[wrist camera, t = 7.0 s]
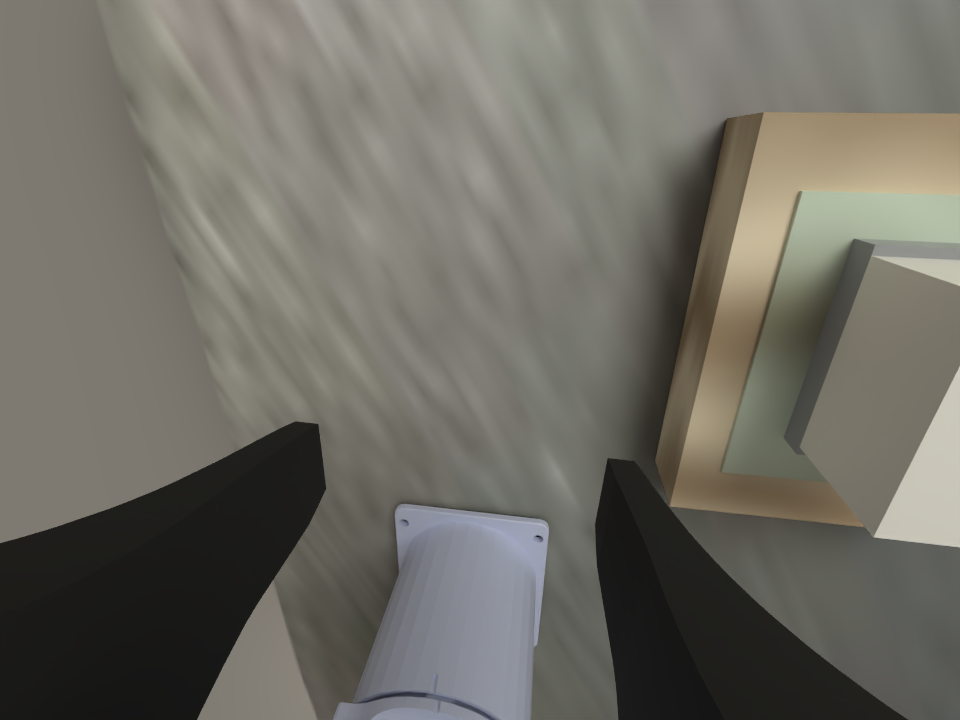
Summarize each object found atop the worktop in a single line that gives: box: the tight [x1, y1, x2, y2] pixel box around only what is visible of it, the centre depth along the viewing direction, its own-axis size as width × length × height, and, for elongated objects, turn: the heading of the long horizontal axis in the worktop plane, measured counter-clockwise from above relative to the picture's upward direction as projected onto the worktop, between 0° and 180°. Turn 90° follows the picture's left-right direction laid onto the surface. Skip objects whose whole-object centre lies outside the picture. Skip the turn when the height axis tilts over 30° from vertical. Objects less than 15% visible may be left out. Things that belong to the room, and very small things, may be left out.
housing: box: [784, 238, 960, 547], centre depth 13 cm, size 7×4×5 cm, turn 179°
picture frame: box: [655, 112, 960, 527], centre depth 16 cm, size 14×11×3 cm
